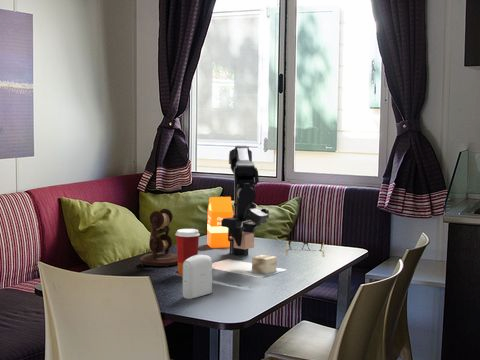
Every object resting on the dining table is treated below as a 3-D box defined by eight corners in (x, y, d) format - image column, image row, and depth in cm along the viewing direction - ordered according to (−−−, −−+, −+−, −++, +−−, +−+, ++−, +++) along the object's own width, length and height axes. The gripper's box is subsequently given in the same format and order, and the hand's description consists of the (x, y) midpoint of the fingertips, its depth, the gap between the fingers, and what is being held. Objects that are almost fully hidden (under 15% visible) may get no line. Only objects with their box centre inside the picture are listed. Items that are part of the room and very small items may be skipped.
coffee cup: (203, 272, 257) (203, 229, 256) (193, 277, 250) (194, 233, 248) (180, 270, 260) (180, 227, 259) (170, 275, 252) (171, 231, 251)
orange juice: (207, 244, 309) (207, 195, 307) (228, 243, 311) (228, 195, 309) (210, 247, 302) (211, 198, 300) (232, 247, 304) (233, 198, 302)
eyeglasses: (323, 251, 302) (323, 241, 301) (323, 258, 287) (323, 248, 287) (287, 249, 303) (288, 239, 303) (286, 257, 289) (286, 246, 288)
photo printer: (190, 300, 222) (191, 258, 221) (180, 297, 225) (180, 256, 223) (214, 293, 230) (214, 253, 228) (203, 291, 232) (204, 251, 231)
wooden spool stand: (151, 259, 277) (152, 205, 275) (188, 263, 272) (188, 208, 270) (132, 267, 263) (132, 211, 261) (170, 271, 258) (170, 214, 256)
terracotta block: (233, 247, 260) (233, 233, 260) (242, 245, 264) (242, 231, 264) (245, 249, 257) (245, 235, 257) (253, 247, 261) (254, 233, 261)
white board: (199, 268, 263) (199, 265, 263) (228, 261, 276) (228, 258, 276) (261, 280, 247) (261, 277, 247) (288, 272, 260) (288, 269, 260)
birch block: (251, 271, 256) (252, 257, 255) (262, 268, 260) (262, 254, 260) (266, 274, 252) (266, 259, 251) (276, 271, 257) (276, 256, 256)
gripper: (247, 205, 247) (246, 252, 248) (279, 200, 261) (278, 244, 263) (220, 202, 253) (219, 247, 255) (253, 197, 268) (252, 240, 270)
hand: (243, 245), depth 261 cm, fingers closed on terracotta block, 5 cm apart
